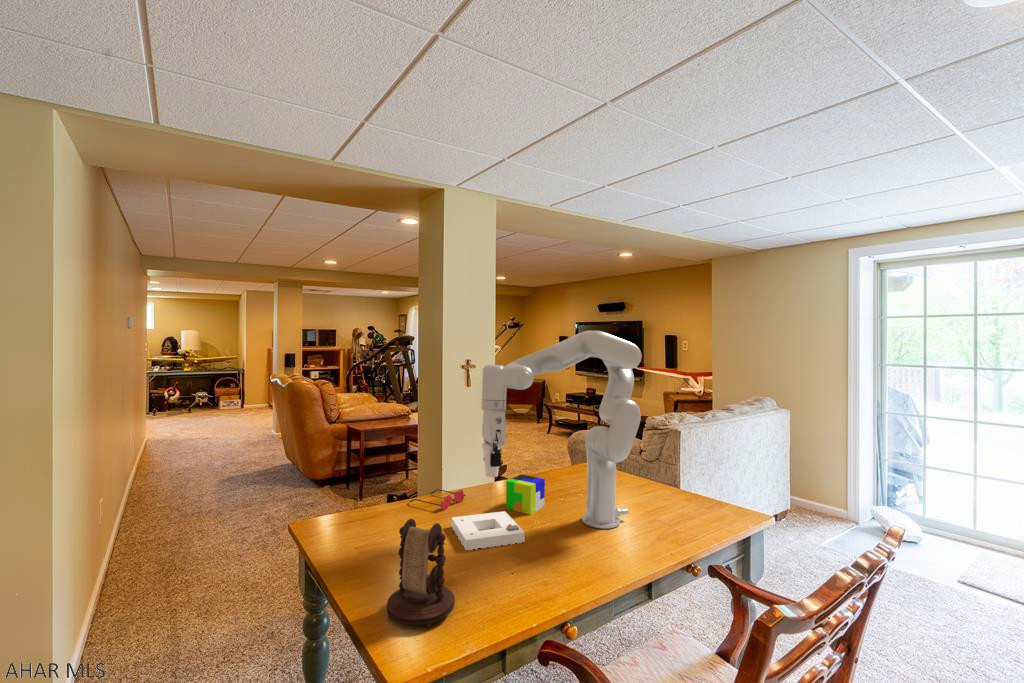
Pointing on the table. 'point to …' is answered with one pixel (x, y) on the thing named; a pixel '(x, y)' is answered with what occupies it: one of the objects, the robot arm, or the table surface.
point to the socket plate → (501, 535)
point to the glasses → (448, 499)
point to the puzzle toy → (525, 493)
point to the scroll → (420, 578)
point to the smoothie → (487, 455)
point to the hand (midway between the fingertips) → (491, 462)
